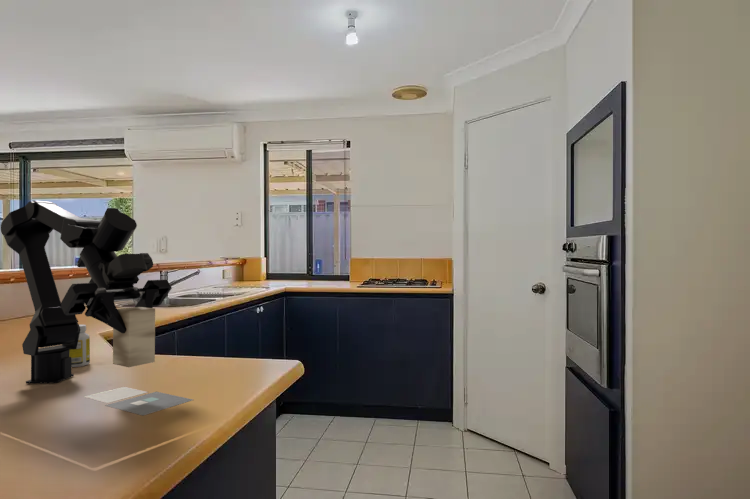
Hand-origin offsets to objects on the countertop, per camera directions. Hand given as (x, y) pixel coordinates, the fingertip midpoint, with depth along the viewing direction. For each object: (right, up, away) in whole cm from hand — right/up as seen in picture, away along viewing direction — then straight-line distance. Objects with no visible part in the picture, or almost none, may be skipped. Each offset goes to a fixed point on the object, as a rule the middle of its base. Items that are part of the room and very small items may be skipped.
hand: (138, 329), depth 87 cm
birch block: (-1, -6, +1) cm, 6 cm away
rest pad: (-6, -13, +3) cm, 15 cm away
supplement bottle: (-30, -14, +31) cm, 45 cm away
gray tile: (+3, -13, -2) cm, 13 cm away
